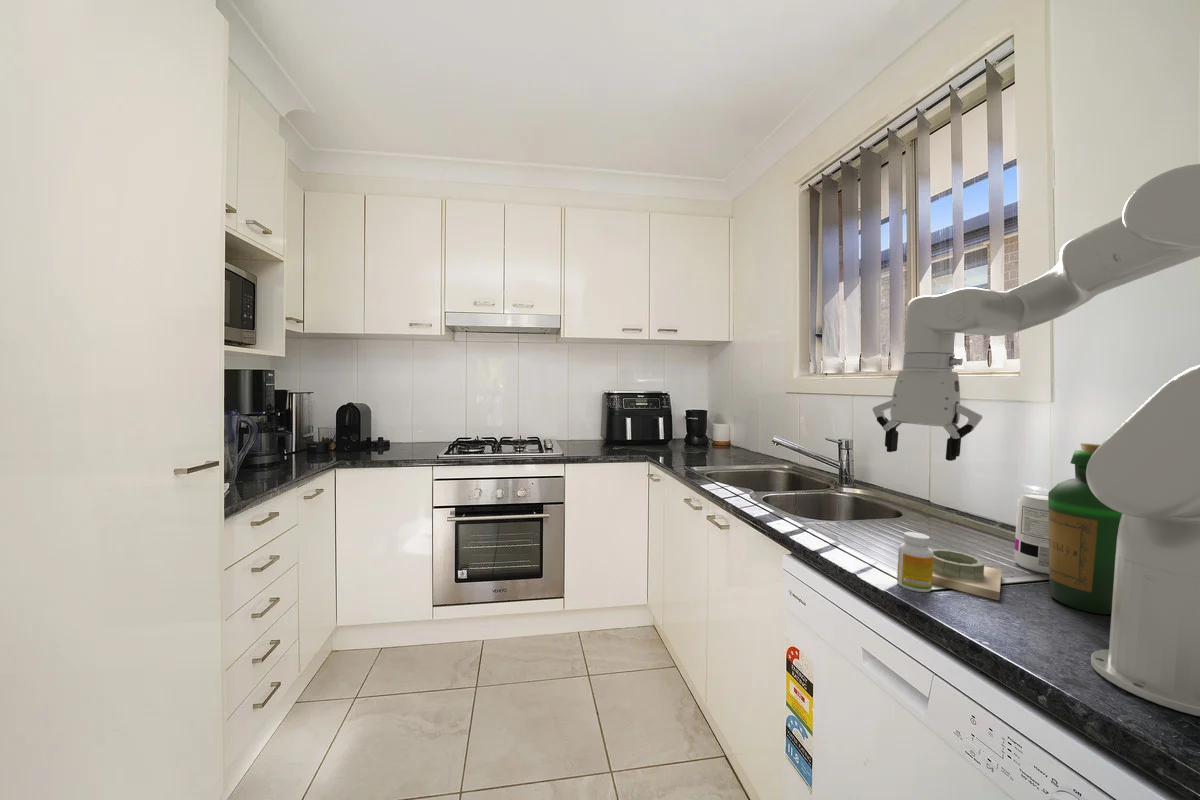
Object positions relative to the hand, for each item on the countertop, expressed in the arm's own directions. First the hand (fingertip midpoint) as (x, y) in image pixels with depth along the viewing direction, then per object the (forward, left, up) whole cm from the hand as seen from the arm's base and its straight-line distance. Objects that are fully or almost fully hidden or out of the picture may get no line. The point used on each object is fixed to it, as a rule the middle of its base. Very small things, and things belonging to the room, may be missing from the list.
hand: (920, 455), depth 88 cm
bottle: (-23, -11, -25) cm, 36 cm away
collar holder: (-5, -9, -24) cm, 27 cm away
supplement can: (-18, -29, -25) cm, 42 cm away
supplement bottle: (0, +2, -25) cm, 25 cm away
